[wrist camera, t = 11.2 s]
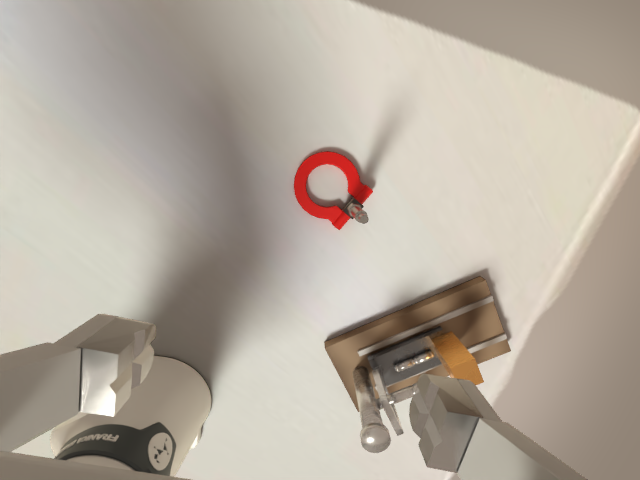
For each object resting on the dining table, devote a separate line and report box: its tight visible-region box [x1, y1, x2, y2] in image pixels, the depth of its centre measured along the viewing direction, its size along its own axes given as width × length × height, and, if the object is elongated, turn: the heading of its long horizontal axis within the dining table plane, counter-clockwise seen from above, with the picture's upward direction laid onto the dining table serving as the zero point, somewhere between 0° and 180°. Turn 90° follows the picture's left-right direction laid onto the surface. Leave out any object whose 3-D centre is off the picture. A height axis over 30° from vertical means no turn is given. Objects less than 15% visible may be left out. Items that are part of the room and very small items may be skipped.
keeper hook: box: [353, 366, 419, 453], centre depth 38 cm, size 9×3×11 cm, turn 115°
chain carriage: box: [367, 326, 484, 436], centre depth 38 cm, size 12×5×9 cm, turn 115°
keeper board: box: [325, 276, 511, 412], centre depth 43 cm, size 24×12×2 cm, turn 115°
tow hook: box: [294, 151, 373, 230], centre depth 33 cm, size 8×13×9 cm
